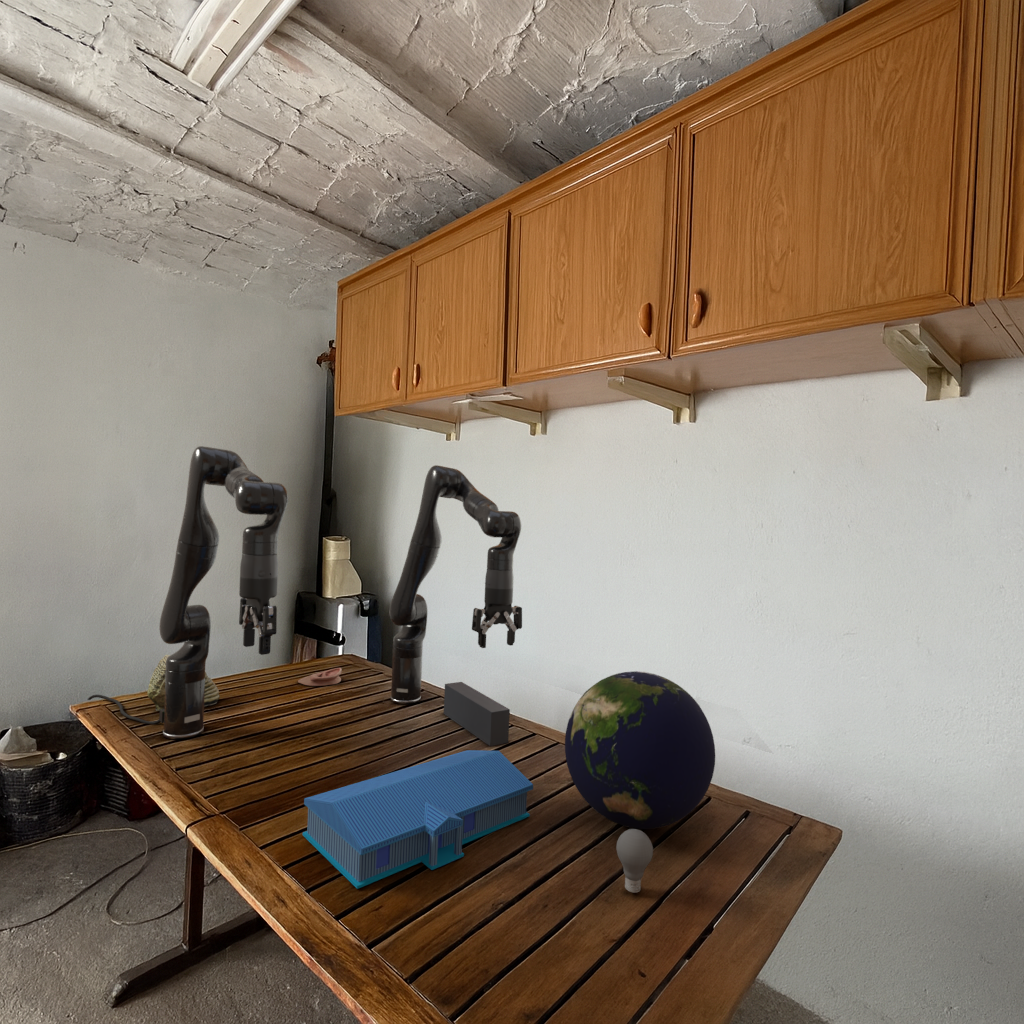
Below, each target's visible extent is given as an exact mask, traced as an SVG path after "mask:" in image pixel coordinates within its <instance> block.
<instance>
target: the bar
mask: <svg viewBox="0 0 1024 1024" xmlns="http://www.w3.org/2000/svg"><path fill="white" fill-rule="evenodd" d="M510 712H511V709H510V708H509V707H506V706H504V705H503V704H501V703H500V702H498V701H496V700H494V699H493V698H491V697H489V696H488V695H486V694H484V693H483V692H480V691H478V690H477V689H475V688H473V687H471V686H470V685H468V684H466V683H465V682H463V681H458V682H449V683H444V695H443V715H445V716H446V717H447V718H449V719H450V720H451V721H453V722H455V723H456V724H458V725H459V726H460V727H462V728H463V729H465V730H466V731H467V732H469V733H470V734H471V735H473V736H475V737H476V738H478V739H479V740H480V741H482V742H483V743H485V744H486V745H487V746H489V747H494V746H498V745H504V744H508V743H509V737H510V735H509V734H510Z"/></svg>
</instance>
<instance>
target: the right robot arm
mask: <svg viewBox="0 0 1024 1024" xmlns="http://www.w3.org/2000/svg"><path fill="white" fill-rule="evenodd" d="M421 496H422V497H421V501H420V504H419V505H420V506H419V511H418V515H417V518H416V522H415V525H414V529H413V533H412V535H411V539H410V541H409V546H408V551H407V554H406V558H405V560H404V564H403V567H402V571H401V575H400V577H399V581H398V583H397V586H396V588H395V591H394V593H393V595H392V598H391V601H390V603H389V608H388V609H389V610H388V611H389V612H388V613H389V618H390V621H391V622H392V623H393V624H394V625H395V626H399V627H401V629H400V630H399V631H398V632H397V633H396V634H395V635H394V636H393V640H392V661H391V662H392V664H391V665H392V666H391V685H390V686H391V689H390V701H391V702H392V703H395V704H399V705H411V704H416V703H419V702H420V701H421V700H422V694H421V693H422V672H423V649H424V648H423V647H424V640H425V638H426V633H427V626H428V625H427V624H428V614H429V613H428V612H429V611H428V603H427V601H426V599H425V597H423V595H421V594H419V593H418V591H419V588H420V586H421V584H422V582H423V581H424V580H425V578H426V577H427V576H428V574H429V573H430V571H431V570H432V569H433V567H434V565H435V564H436V562H437V560H438V556H439V554H440V550H441V546H442V542H443V538H442V533H441V528H440V525H439V522H438V518H437V507H438V503H439V498H444V499H455V500H457V501H459V502H461V503H462V506H463V510H464V511H465V512H466V514H467V515H468V516H469V517H471V518H472V519H473V520H475V522H477V524H478V525H479V527H480V529H481V531H482V532H483V534H484V535H486V536H487V537H490V538H501V539H500V542H499V543H498V544H496V545H494V546H491V547H489V548H488V550H487V555H486V557H487V559H486V572H485V577H484V578H485V581H484V599H483V601H484V607H483V608H478V607H474V608H473V611H472V612H473V613H472V621H471V623H472V624H471V630H472V631H473V632H476V633H477V635H478V636H477V644H478V646H479V648H481V649H486V648H487V634H486V633H487V632H488V631H489V629H490V628H492V627H493V625H495V626H496V625H499V624H500V625H505V626H506V628H507V629H508V630H507V631H506V645H508V646H514V644H515V642H516V631H517V630H521V629H522V628H523V607H521V606H518V605H514V606H512V604H513V600H514V582H515V581H514V558H515V557H514V556H515V552H516V549H517V545H518V542H519V538H520V535H521V532H522V519H521V517H520V515H519V514H518V513H517V512H516V511H508V510H507V511H506V510H505V511H504V510H502V511H501V510H499V509H500V508H499V507H498V505H497V503H495V502H494V501H493V500H491V499H490V498H489V497H487V496H486V495H484V494H483V493H481V492H480V491H479V490H478V489H477V488H476V487H475V486H474V485H473V484H472V483H471V481H470V480H469V479H468V478H467V477H466V475H465V474H464V473H463V472H462V471H460V470H459V469H457V468H451V467H448V466H443V465H432V466H431V467H430V468H429V470H428V471H427V474H426V476H425V480H424V483H423V489H422V495H421ZM511 615H513V619H512V618H511ZM483 616H484V618H482V617H483Z"/></svg>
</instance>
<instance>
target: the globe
mask: <svg viewBox="0 0 1024 1024" xmlns="http://www.w3.org/2000/svg"><path fill="white" fill-rule="evenodd" d="M564 735H565V736H564V754H565V761H566V766H567V769H568V773H569V775H570V777H571V780H572V783H573V785H574V786H575V788H576V790H577V791H578V793H579V794H580V796H581V797H582V798H583V799H584V801H585V802H586V803H587V804H588V805H589V806H590V807H591V809H593V810H594V811H596V812H597V813H598V814H600V815H601V816H603V817H604V818H605V819H607V820H608V821H611V822H613V823H615V824H617V825H621V826H623V827H627V828H629V829H637V830H653V829H659V828H664V827H667V826H670V825H672V824H674V823H676V822H677V823H678V822H679V821H681V820H682V819H684V818H685V817H687V816H688V815H689V814H690V813H692V812H693V811H694V810H695V809H696V808H697V807H698V805H700V803H701V801H702V800H703V799H704V797H705V795H706V794H707V792H708V790H709V788H710V785H711V782H712V779H713V777H714V771H715V767H716V749H715V748H716V745H715V739H714V735H713V731H712V728H711V726H710V723H709V720H708V719H707V717H706V715H705V713H704V711H703V709H702V708H701V706H700V704H699V703H698V702H697V700H696V699H695V698H694V697H693V696H692V695H691V694H690V693H689V692H688V691H687V690H685V689H684V688H683V687H681V686H680V685H678V684H677V683H675V682H674V681H672V680H671V679H669V678H666V677H664V676H661V675H659V674H656V673H652V672H647V671H640V670H636V671H623V672H617V673H615V674H612V675H609V676H606V677H604V678H602V679H601V680H599V681H597V682H596V683H594V684H593V685H592V686H591V687H589V688H588V689H587V690H585V692H584V693H583V694H582V695H581V697H580V698H579V699H578V701H577V702H576V703H575V706H574V707H573V708H572V711H571V713H570V715H569V719H568V721H567V724H566V729H565V734H564Z"/></svg>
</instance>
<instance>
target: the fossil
mask: <svg viewBox="0 0 1024 1024" xmlns="http://www.w3.org/2000/svg"><path fill="white" fill-rule="evenodd" d="M170 655H171V654H165V655H164V656H163V657H162V658H161V659H160V660H159V662H158V663H157V666H156V667H155V669H154V670H153V672H152V675H151V677H150V680H149V684H148V688H147V697H148V699H149V700H150V701H152V703H153V704H154V706H155V711H158V712H160V709H164V705H165V674H166V660H167V658H168V657H169V656H170ZM220 698H221V696H220V690H219V688H218V686H217V685H216V683H215V682H214V681H213V679H212V678H211V677H209V675H208V674H207V672H206V671H205V693H204V707H207V706H213V705H215V704H217V703H218V701H219V699H220Z"/></svg>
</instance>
